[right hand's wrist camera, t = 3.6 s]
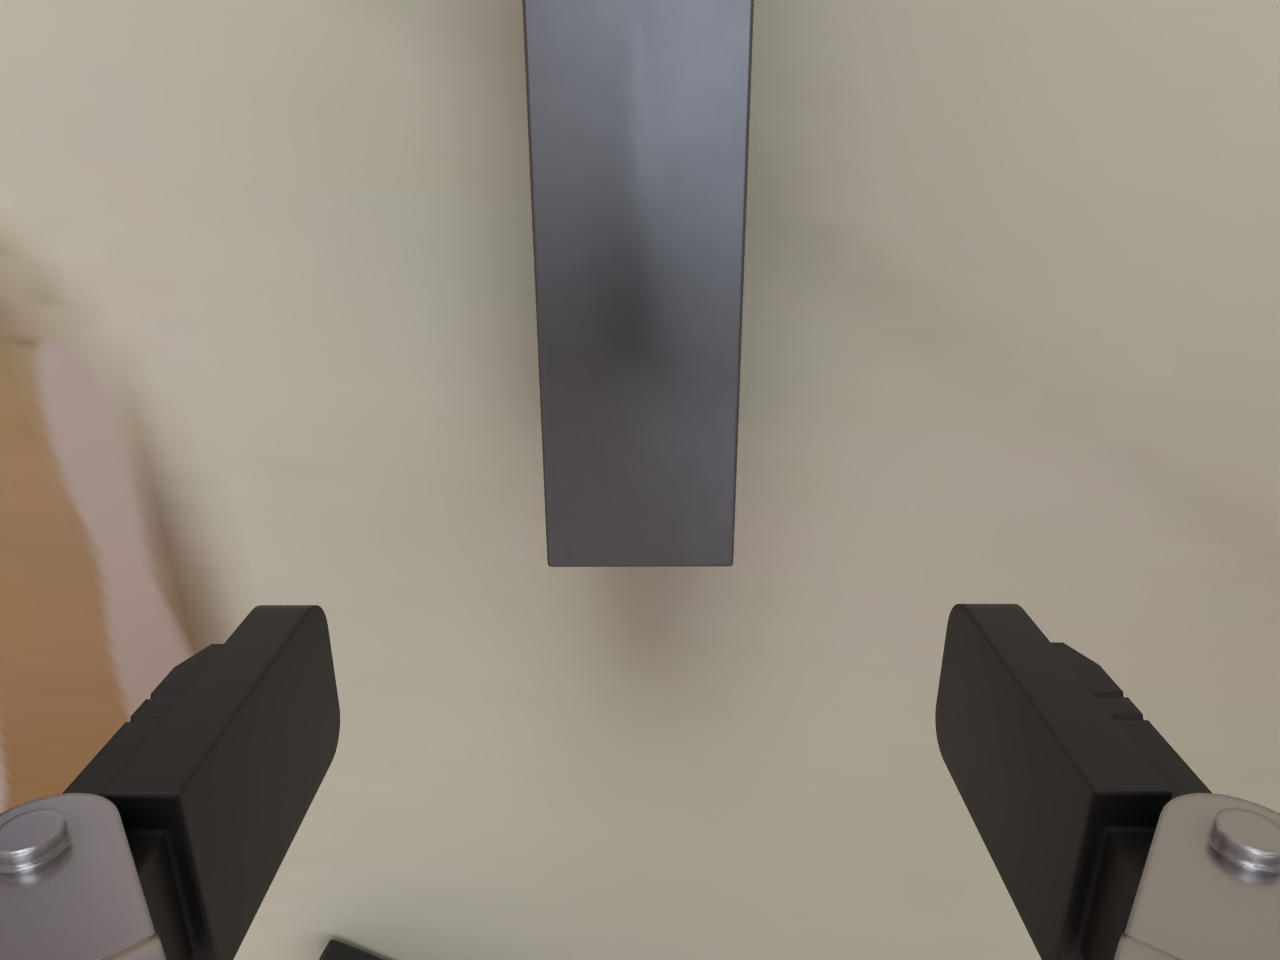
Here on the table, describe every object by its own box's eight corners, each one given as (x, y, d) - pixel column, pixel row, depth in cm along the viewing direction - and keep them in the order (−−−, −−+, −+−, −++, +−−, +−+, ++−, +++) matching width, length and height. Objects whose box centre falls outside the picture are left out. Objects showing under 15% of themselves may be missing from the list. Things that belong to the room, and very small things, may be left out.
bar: (707, 445, 30) (733, 567, 22) (575, 445, 30) (547, 567, 22) (730, -520, 22) (789, -971, 13) (544, -518, 22) (477, -968, 13)
